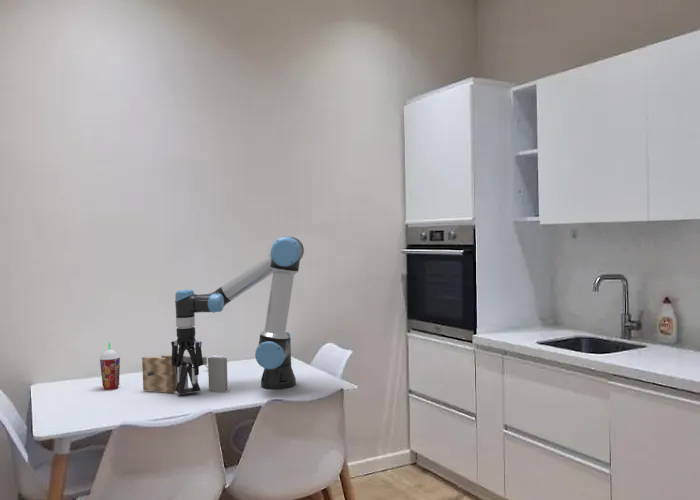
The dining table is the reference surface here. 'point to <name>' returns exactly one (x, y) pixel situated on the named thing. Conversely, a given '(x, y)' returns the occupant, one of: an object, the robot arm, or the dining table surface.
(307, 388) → the dining table surface
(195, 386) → the phone stand
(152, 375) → the door
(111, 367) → the smoothie
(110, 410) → the dining table surface
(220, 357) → the cup
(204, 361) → the wall
